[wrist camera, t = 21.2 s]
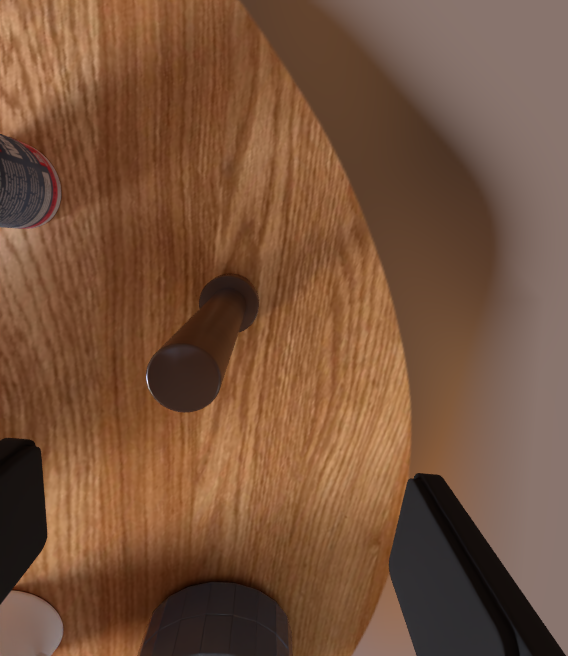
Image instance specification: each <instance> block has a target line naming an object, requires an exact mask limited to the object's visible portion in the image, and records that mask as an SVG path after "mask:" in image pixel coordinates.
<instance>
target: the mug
mask: <svg viewBox="0 0 568 656" xmlns="http://www.w3.org/2000/svg"><path fill="white" fill-rule="evenodd" d="M62 636H63V623H62V620H61V618H60V616H59V614H58V613H57V611H56V610H55V609H54V608H53V607H52V606H51V605H50V604H49V603H47V602H46V601H44V600H43V599H41V598H39V597H37V596H35V595H32V594H29V593H26V592H21V591H13V590H11V592H10V593H9V594H8V595H7V597H6V598H5V599H4V601H3V602H2V603H1V605H0V656H51V655H52V653H53V652H54V651H55V650H56V648H57V647H58V645H59V644H60V642H61V639H62Z"/></svg>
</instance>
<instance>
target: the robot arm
mask: <svg viewBox="0 0 568 656" xmlns="http://www.w3.org/2000/svg"><path fill="white" fill-rule="evenodd" d="M46 539H47V522H46V509H45V496H44V483H43V470H42V457H41V450H40V448H39V447H36V445H35V443H34V441H32V440H28V439H16V438H4V439H2V440H0V605H1V603H2V602H3V601H4V599H5V598H6V597H7V595H8V594H9V593H10V592H11V590H12V589H13V588H14V586H15V585H16V584H17V582H18V581H19V580H20V578H21V577H22V576H23V575H24V573H25V572H26V571H27V569H28V568H29V567H30V565H31V564H32V563H33V561H34V560H35V559H36V557H37V556H38V555H39V554H40V552H41V551H42V549H43V547H44V545H45V542H46ZM389 572H390V577H391V580H392V583H393V586H394V589H395V592H396V595H397V598H398V601H399V604H400V607H401V610H402V613H403V616H404V619H405V622H406V625H407V628H408V631H409V634H410V637H411V640H412V643H413V646H414V649H415V652H416V655H417V656H566V655H565V654H564V653H563V651H562V649H561V648H560V647H559V645H558V644H557V642H556V641H555V639H554V638H553V636H552V635H551V633H550V632H549V631H548V629H547V628H546V626H545V625H544V623H543V622H542V620H541V619H540V618H539V616H538V615H537V613H536V612H535V610H534V609H533V607H532V606H531V605H530V603H529V602H528V600H527V599H526V597H525V596H524V594H523V593H522V592H521V590H520V589H519V587H518V586H517V584H516V583H515V582H514V580H513V579H512V577H511V576H510V574H509V573H508V571H507V570H506V568H505V567H504V565H503V564H502V563H501V561H500V560H499V558H498V557H497V555H496V554H495V553H494V551H493V550H492V548H491V547H490V545H489V544H488V543H487V541H486V539H485V538H484V537H483V535H482V534H481V532H480V531H479V529H478V528H477V526H476V525H475V524H474V522H473V521H472V519H471V518H470V516H469V515H468V513H467V512H466V511H465V509H464V508H463V506H462V505H461V504H460V502H459V501H458V499H457V498H456V496H455V495H454V493H453V492H452V490H451V489H450V487H449V486H448V485H447V483H446V482H445V480H444V479H443V478H442V477H441V476H440V475H433V474H422V473H417V474H416V475H415V476H414V479H409V480H408V482H407V486H406V490H405V494H404V498H403V503H402V507H401V511H400V516H399V520H398V524H397V528H396V533H395V537H394V541H393V545H392V550H391V554H390V558H389Z"/></svg>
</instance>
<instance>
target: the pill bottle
mask: <svg viewBox="0 0 568 656" xmlns="http://www.w3.org/2000/svg"><path fill="white" fill-rule="evenodd" d="M60 202H61V185H60V181H59V178H58V175H57V173H56V171H55V169H54V167H53V166H52V164H51V163H50V161H49V160H48V159H47V158H46V157H45V156H44V155H43V154H42V153H40V152H39V151H38V150H36V149H35V148H33V147H32V146H29V145H27V144H25V143H23V142H20V141H18V140H15V139H13V138H10V137H7V136H5V135H2V134H0V227H6V228H19V229H29V228H35V227H39V226H41V225H44V224H45V223H47V222H48V221H49V220H51V219H52V217H53V216H54V215H55V214H56V212H57V210H58V208H59V205H60Z"/></svg>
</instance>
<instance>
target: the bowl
mask: <svg viewBox="0 0 568 656" xmlns="http://www.w3.org/2000/svg"><path fill="white" fill-rule="evenodd" d="M137 656H293V647H292V631H291V628H290V624H289V621H288V617H287V615H286V614H285V613H284V611H283V610H282V609H281V607H280V606H279V605H278V604H277V602H276V601H275V600H273V599H271V598H270V597H268V596H267V595H265V594H264V593H262V592H261V591H259V590H257V589H254V588H250V587H247V586H244V585H240V584H237V583H226V582H209V583H204V584H199V585H194V586H189V587H187V588H185V589H183V590H181V591H179V592H177V593H175V594H173V595H171V596H169V597H168V598H167V599H166V600H165V601H164V602H163V603H162V604H161V605H160V606H159V607H158V608H156V609H155V610H154V612H153V614H152V616H151V618H150V620H149V623H148V625H147V627H146V630H145V633H144V636H143V639H142V643H141V646H140V649H139V652H138V655H137Z"/></svg>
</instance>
